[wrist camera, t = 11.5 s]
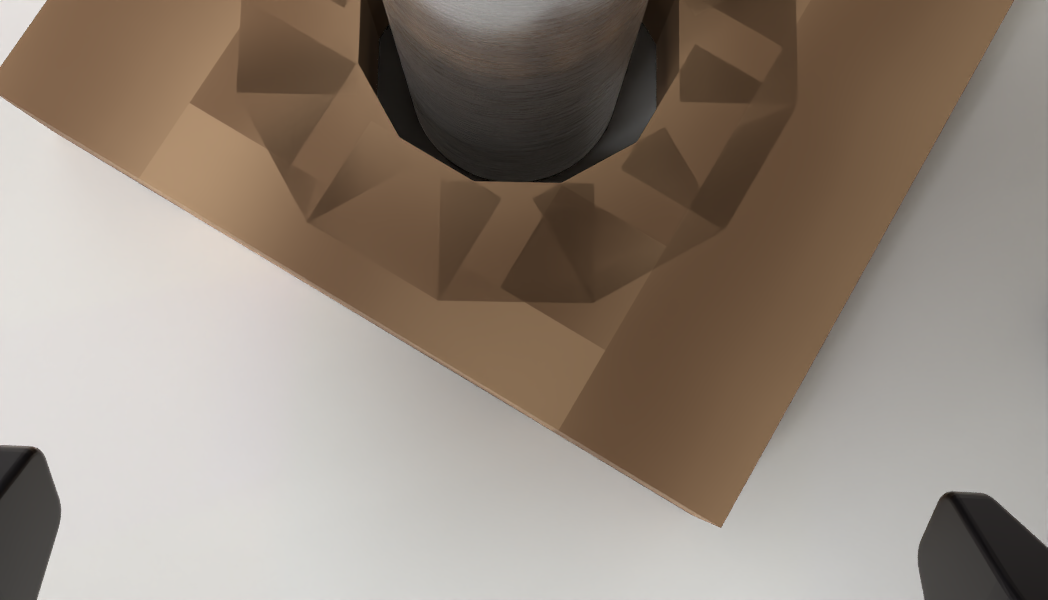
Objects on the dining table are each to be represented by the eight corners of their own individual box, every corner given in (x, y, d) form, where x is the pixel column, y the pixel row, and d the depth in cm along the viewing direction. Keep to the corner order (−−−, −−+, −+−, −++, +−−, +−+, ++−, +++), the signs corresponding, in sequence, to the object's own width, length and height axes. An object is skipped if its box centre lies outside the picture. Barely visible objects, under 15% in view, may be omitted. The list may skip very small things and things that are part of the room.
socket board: (964, 25, 20) (1032, -33, 17) (690, 514, 18) (721, 527, 16) (361, -316, 20) (341, -421, 18) (53, 131, 19) (-14, 87, 16)
